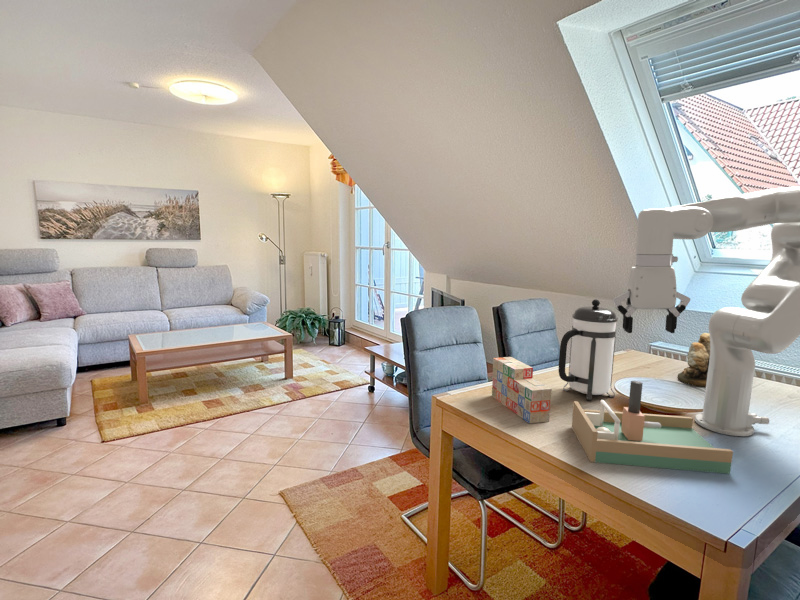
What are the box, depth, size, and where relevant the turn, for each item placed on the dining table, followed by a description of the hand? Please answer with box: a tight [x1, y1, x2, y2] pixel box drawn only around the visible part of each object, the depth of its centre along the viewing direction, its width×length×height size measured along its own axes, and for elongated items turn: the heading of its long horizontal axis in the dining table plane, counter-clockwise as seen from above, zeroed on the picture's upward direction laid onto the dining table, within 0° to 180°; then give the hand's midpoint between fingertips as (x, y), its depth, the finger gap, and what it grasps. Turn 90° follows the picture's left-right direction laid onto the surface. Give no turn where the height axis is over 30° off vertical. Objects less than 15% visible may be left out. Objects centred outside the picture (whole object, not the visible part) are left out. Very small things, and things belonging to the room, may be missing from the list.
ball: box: [596, 427, 611, 432], centre depth 106 cm, size 4×4×4 cm
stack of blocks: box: [491, 356, 552, 424], centre depth 127 cm, size 21×6×12 cm, turn 16°
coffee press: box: [558, 299, 619, 402], centre depth 137 cm, size 17×16×30 cm
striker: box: [621, 380, 661, 441], centre depth 103 cm, size 8×5×13 cm, turn 81°
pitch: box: [571, 399, 734, 475], centre depth 104 cm, size 28×18×9 cm, turn 81°
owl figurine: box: [677, 332, 710, 388], centre depth 154 cm, size 18×12×17 cm, turn 135°
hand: (648, 331), depth 108 cm, fingers open, 9 cm apart
